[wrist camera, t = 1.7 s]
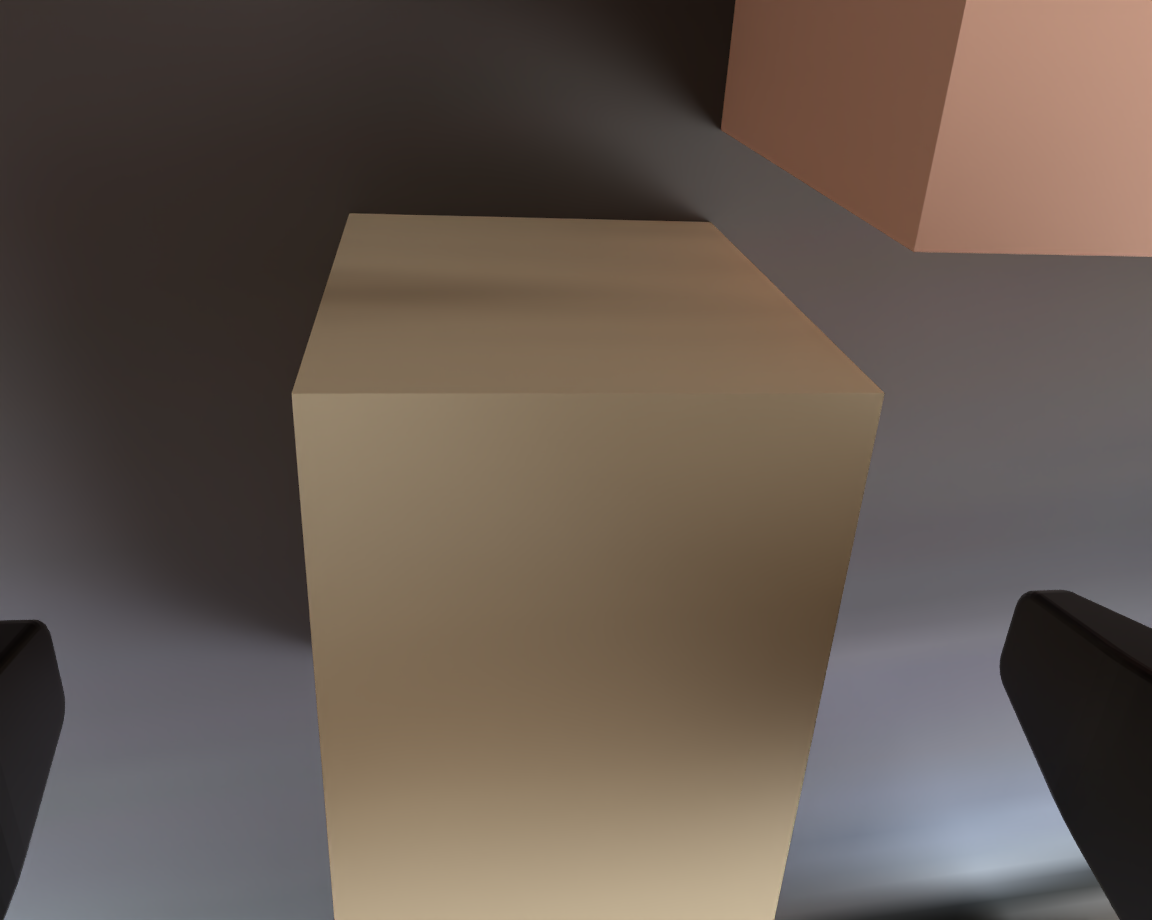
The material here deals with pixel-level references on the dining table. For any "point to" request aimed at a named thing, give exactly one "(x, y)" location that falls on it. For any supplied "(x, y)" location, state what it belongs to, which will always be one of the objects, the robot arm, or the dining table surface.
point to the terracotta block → (957, 117)
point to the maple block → (568, 565)
